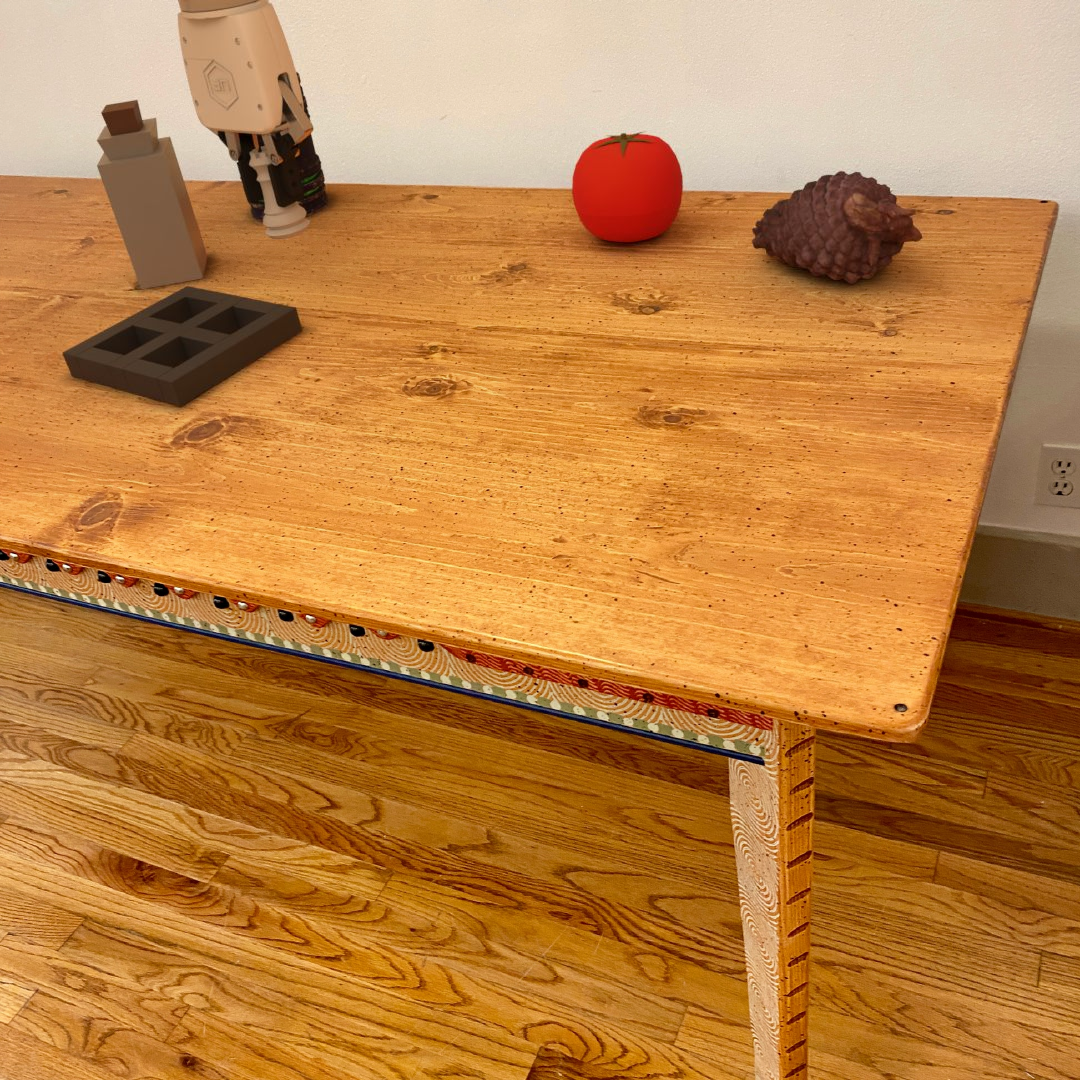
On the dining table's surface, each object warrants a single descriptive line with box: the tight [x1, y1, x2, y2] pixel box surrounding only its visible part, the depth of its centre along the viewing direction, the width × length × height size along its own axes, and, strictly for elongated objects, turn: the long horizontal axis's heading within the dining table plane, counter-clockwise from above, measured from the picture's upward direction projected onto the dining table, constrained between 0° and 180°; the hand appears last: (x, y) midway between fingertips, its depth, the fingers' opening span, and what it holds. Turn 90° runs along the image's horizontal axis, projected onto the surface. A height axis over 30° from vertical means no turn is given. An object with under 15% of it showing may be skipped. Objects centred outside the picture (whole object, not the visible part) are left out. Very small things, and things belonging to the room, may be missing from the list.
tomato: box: [571, 130, 684, 243], centre depth 111 cm, size 11×12×10 cm
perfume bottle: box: [96, 99, 208, 290], centre depth 116 cm, size 7×7×18 cm
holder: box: [61, 285, 303, 407], centre depth 103 cm, size 16×16×2 cm
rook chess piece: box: [249, 146, 311, 241], centre depth 104 cm, size 4×4×8 cm
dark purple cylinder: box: [239, 71, 330, 222], centre depth 131 cm, size 10×10×15 cm
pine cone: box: [751, 170, 924, 285], centre depth 99 cm, size 18×10×10 cm
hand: (276, 198), depth 104 cm, fingers closed on rook chess piece, 3 cm apart
